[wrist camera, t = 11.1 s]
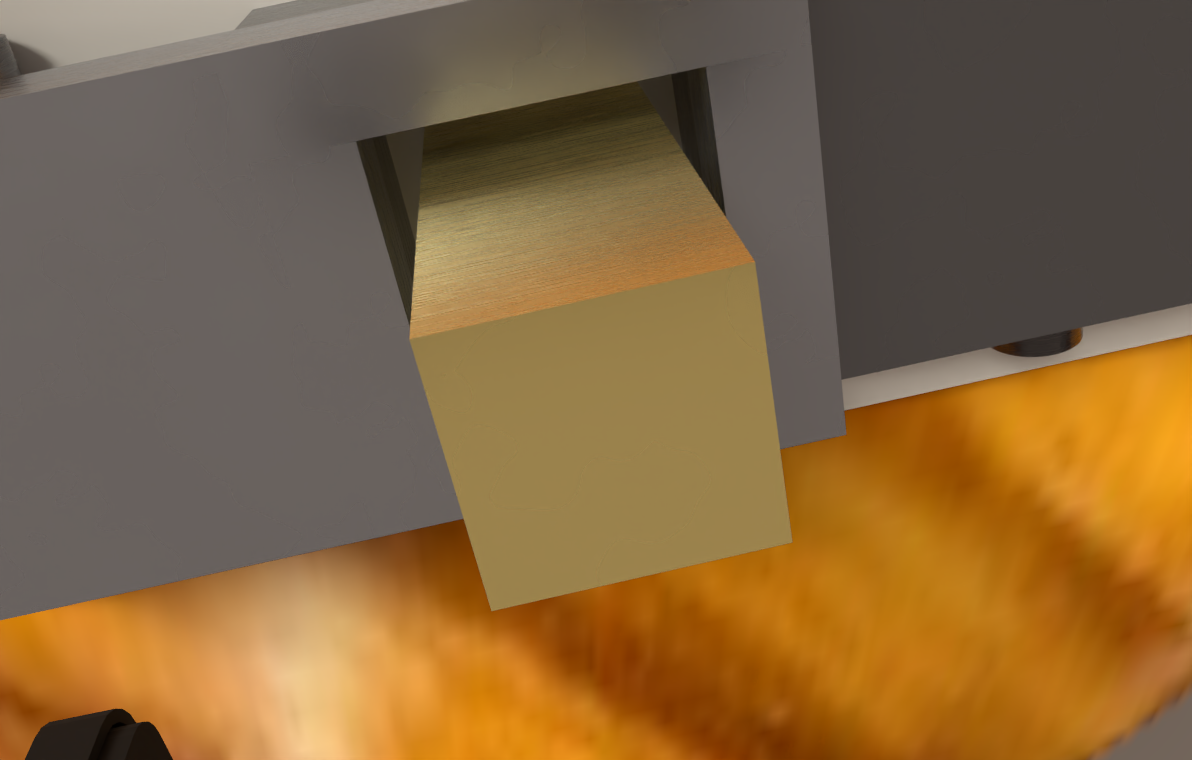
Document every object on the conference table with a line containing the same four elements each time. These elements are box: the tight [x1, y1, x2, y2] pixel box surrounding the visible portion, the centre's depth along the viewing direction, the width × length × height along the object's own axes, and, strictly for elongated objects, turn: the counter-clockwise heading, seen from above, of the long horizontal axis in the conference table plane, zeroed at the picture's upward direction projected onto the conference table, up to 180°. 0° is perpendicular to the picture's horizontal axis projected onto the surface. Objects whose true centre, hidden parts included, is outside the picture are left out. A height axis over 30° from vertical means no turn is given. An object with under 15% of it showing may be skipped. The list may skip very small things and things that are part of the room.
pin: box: [409, 81, 792, 611], centre depth 18 cm, size 4×4×10 cm
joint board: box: [0, 0, 1192, 410], centre depth 23 cm, size 29×13×1 cm, turn 100°
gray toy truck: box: [0, 0, 1192, 620], centre depth 21 cm, size 28×10×4 cm, turn 100°
